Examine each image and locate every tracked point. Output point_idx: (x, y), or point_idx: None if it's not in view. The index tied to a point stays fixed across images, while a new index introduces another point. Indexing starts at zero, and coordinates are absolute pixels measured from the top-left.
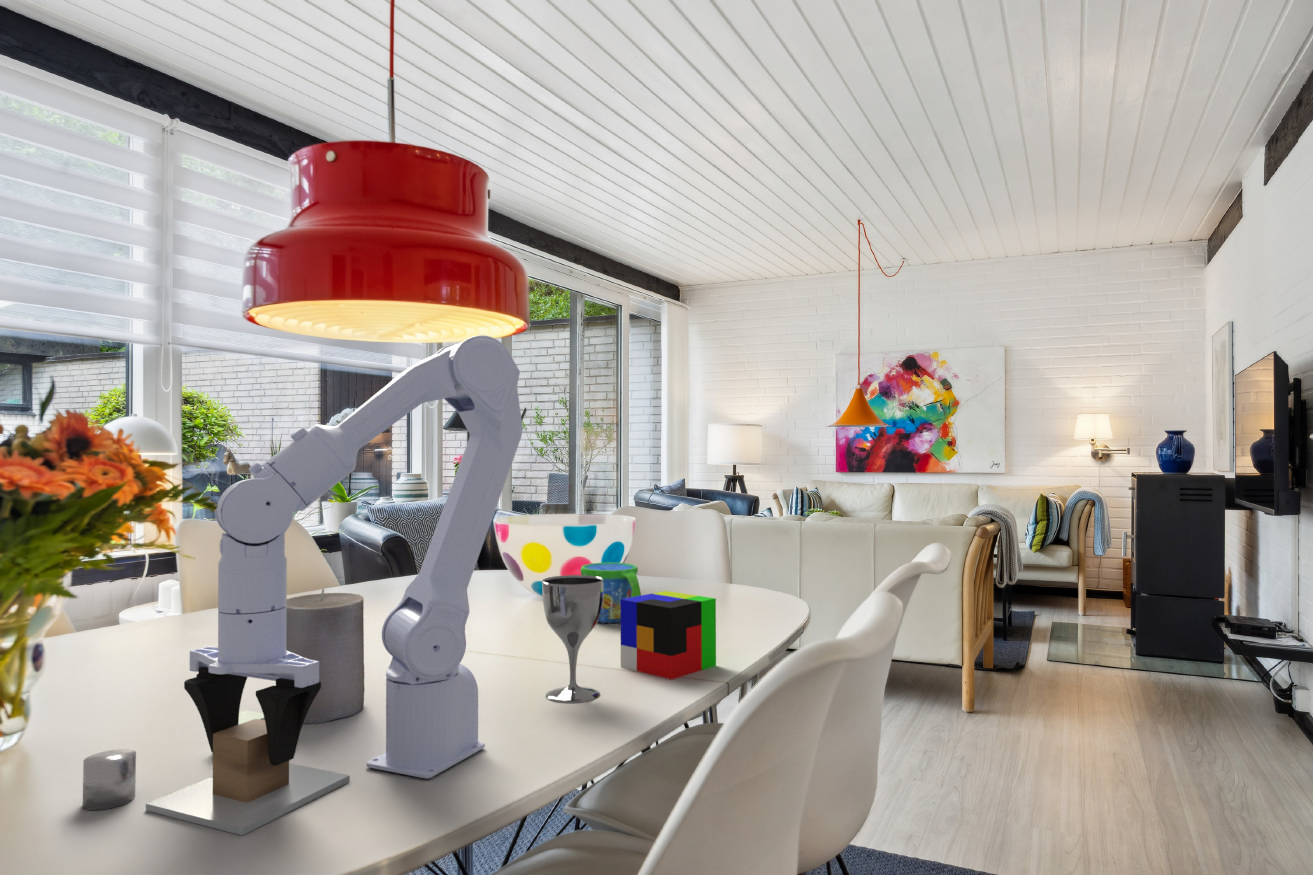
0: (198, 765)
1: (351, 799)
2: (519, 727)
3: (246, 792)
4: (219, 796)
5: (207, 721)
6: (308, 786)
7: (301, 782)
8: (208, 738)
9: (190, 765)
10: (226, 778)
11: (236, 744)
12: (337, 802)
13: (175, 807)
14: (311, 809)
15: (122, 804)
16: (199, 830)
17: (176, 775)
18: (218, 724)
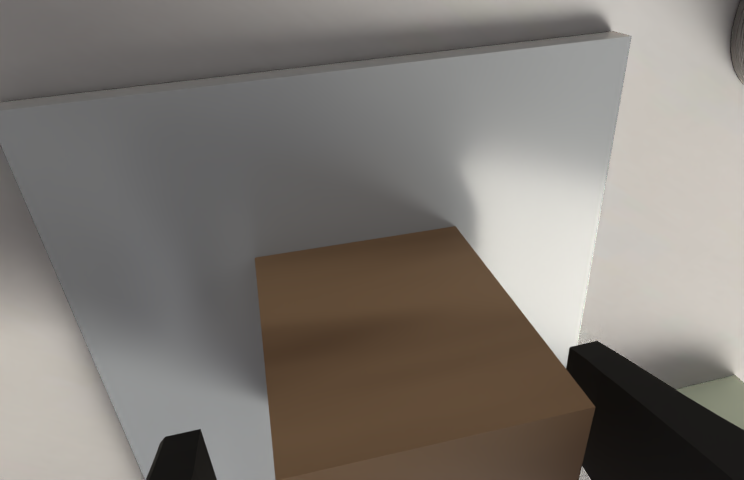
0: (714, 318)
1: (11, 472)
2: None
3: (263, 280)
4: (413, 229)
5: (719, 450)
6: None
7: (253, 433)
8: (647, 378)
9: (737, 305)
10: (396, 280)
11: (375, 423)
12: (26, 439)
13: (482, 78)
14: (41, 369)
15: (737, 11)
16: (230, 33)
17: (727, 248)
18: (662, 466)
